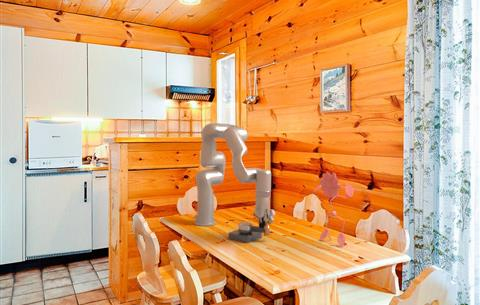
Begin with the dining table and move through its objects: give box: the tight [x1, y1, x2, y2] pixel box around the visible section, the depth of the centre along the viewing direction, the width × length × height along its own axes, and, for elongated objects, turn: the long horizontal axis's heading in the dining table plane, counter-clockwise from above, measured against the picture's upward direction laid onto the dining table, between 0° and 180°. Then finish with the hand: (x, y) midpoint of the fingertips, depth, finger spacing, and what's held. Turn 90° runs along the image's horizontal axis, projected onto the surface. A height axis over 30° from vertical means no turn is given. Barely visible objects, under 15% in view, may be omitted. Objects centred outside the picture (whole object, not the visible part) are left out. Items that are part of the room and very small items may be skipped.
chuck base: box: [228, 229, 263, 244], centre depth 182 cm, size 12×12×3 cm
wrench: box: [253, 209, 276, 224], centre depth 224 cm, size 8×2×30 cm
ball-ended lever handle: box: [237, 221, 271, 236], centre depth 180 cm, size 16×7×4 cm, turn 67°
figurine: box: [312, 171, 355, 252], centre depth 171 cm, size 15×26×35 cm, turn 33°
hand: (262, 230), depth 181 cm, fingers closed
